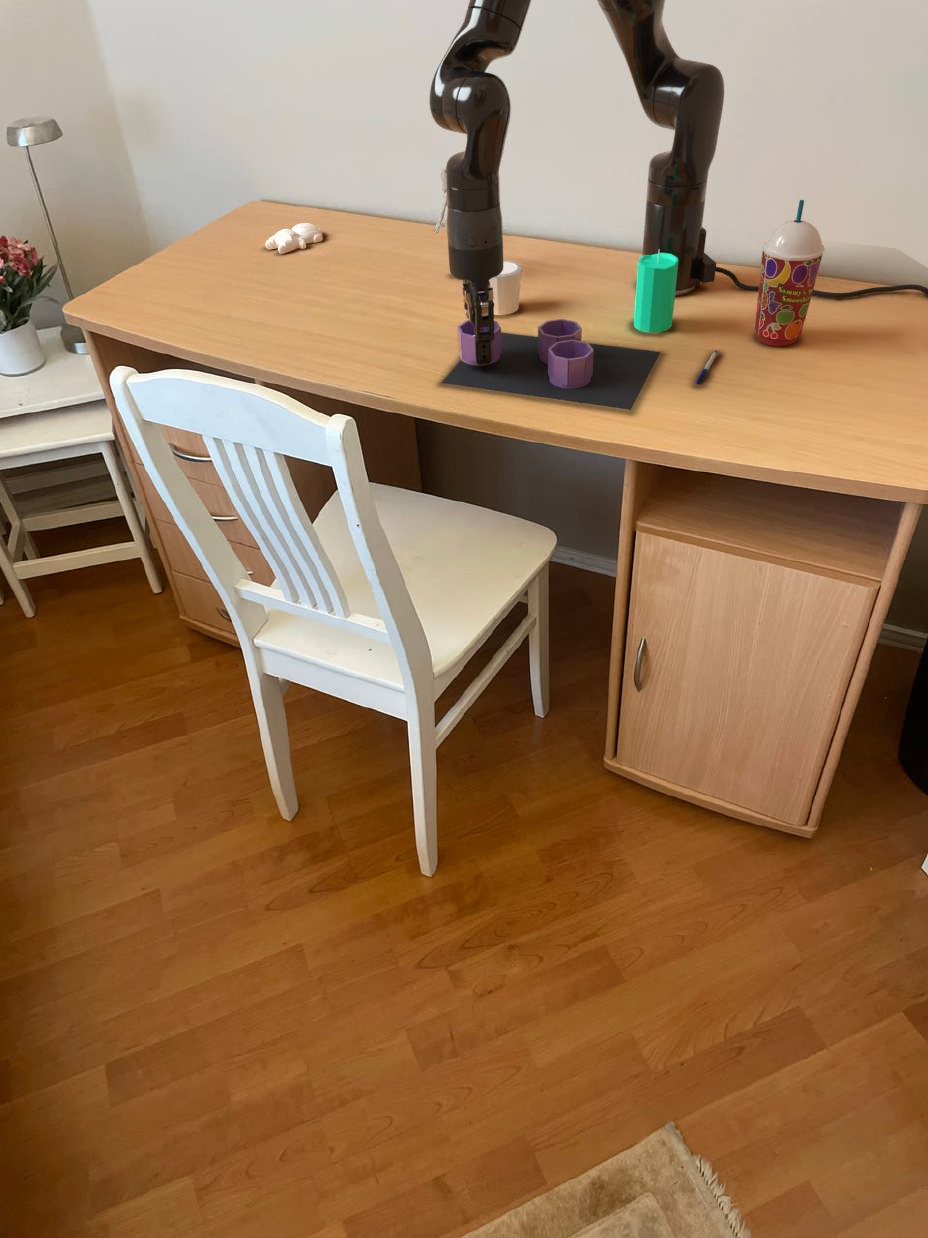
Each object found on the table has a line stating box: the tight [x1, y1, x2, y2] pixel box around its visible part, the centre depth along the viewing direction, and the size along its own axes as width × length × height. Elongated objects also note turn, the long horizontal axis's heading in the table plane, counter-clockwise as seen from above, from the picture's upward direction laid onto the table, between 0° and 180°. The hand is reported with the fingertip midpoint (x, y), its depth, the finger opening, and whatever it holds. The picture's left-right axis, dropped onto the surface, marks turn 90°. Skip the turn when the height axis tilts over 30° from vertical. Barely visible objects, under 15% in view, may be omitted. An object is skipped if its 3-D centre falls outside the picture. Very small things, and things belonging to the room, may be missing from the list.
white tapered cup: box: [489, 259, 522, 316], centre depth 151 cm, size 7×7×7 cm
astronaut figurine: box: [265, 222, 324, 255], centre depth 181 cm, size 9×12×3 cm
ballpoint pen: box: [696, 349, 718, 385], centre depth 133 cm, size 10×1×1 cm, turn 156°
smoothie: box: [754, 199, 825, 347], centre depth 133 cm, size 8×8×20 cm
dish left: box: [456, 319, 502, 365], centre depth 136 cm, size 6×6×4 cm
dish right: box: [548, 340, 594, 389], centre depth 132 cm, size 6×6×4 cm
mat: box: [441, 332, 661, 411], centre depth 136 cm, size 28×18×1 cm, turn 68°
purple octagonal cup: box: [537, 318, 583, 364], centre depth 137 cm, size 6×6×4 cm
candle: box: [633, 249, 678, 334], centre depth 141 cm, size 6×6×12 cm
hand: (480, 352), depth 137 cm, fingers closed on dish left, 6 cm apart
